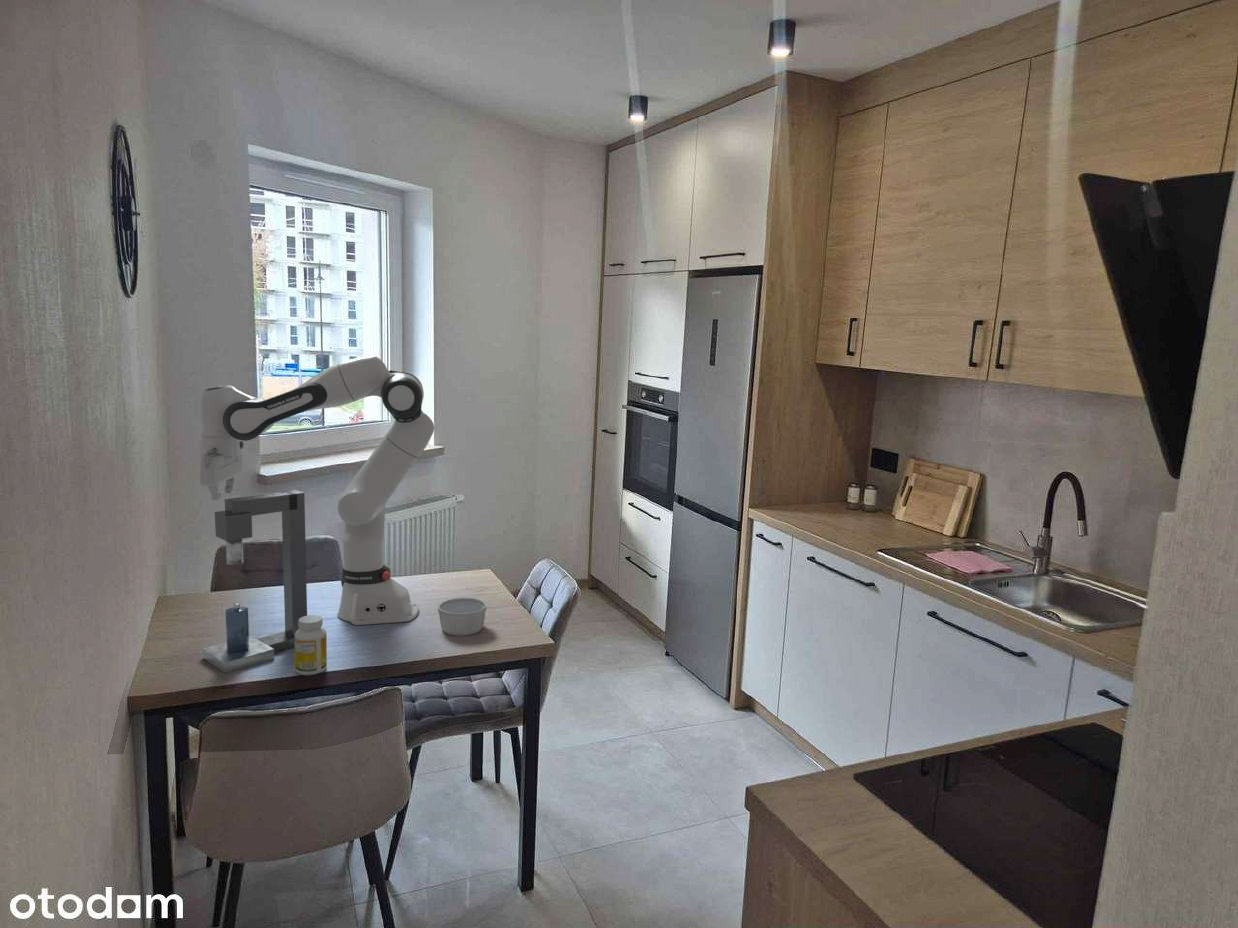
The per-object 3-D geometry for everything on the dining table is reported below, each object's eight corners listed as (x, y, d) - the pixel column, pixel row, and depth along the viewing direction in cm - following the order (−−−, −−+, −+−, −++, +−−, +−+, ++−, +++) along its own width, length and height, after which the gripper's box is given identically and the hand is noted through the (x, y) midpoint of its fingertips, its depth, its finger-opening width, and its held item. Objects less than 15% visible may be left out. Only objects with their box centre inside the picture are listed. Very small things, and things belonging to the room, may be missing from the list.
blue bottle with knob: (252, 644, 195) (250, 600, 193) (245, 652, 190) (243, 607, 189) (231, 644, 195) (229, 600, 193) (223, 652, 190) (222, 607, 188)
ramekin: (436, 638, 211) (436, 613, 210) (439, 620, 224) (439, 597, 223) (485, 637, 213) (486, 613, 212) (486, 620, 226) (486, 597, 225)
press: (292, 633, 210) (288, 487, 203) (315, 646, 202) (312, 495, 196) (202, 658, 192) (195, 499, 186) (224, 672, 185) (217, 508, 178)
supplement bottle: (304, 678, 184) (303, 626, 181) (289, 669, 188) (288, 618, 186) (332, 669, 189) (332, 618, 187) (317, 660, 194) (316, 611, 191)
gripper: (218, 451, 200) (220, 504, 202) (245, 441, 220) (247, 489, 222) (192, 451, 199) (194, 504, 202) (222, 440, 219) (224, 488, 222)
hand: (222, 496), depth 212 cm, fingers open, 8 cm apart
